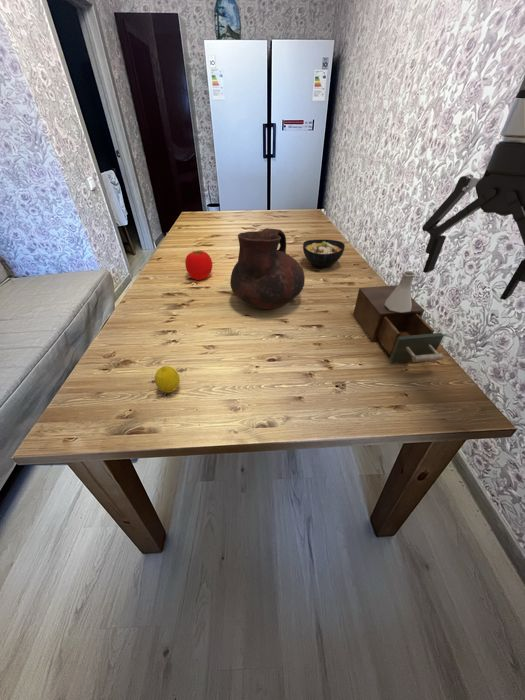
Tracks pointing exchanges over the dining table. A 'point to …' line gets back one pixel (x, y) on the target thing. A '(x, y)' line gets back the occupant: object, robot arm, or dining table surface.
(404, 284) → the flask
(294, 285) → the jug
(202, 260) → the tomato
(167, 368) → the fruit
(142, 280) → the dining table surface
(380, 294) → the cabinet
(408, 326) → the drawer
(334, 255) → the bowl
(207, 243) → the dining table surface
